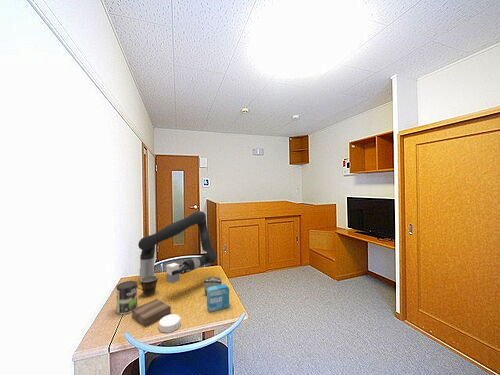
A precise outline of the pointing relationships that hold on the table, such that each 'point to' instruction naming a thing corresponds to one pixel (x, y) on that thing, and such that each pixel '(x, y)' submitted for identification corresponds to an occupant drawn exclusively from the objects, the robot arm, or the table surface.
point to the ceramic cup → (148, 285)
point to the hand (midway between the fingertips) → (169, 272)
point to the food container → (211, 283)
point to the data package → (217, 297)
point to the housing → (169, 276)
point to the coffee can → (126, 297)
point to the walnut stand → (151, 312)
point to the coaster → (169, 323)
